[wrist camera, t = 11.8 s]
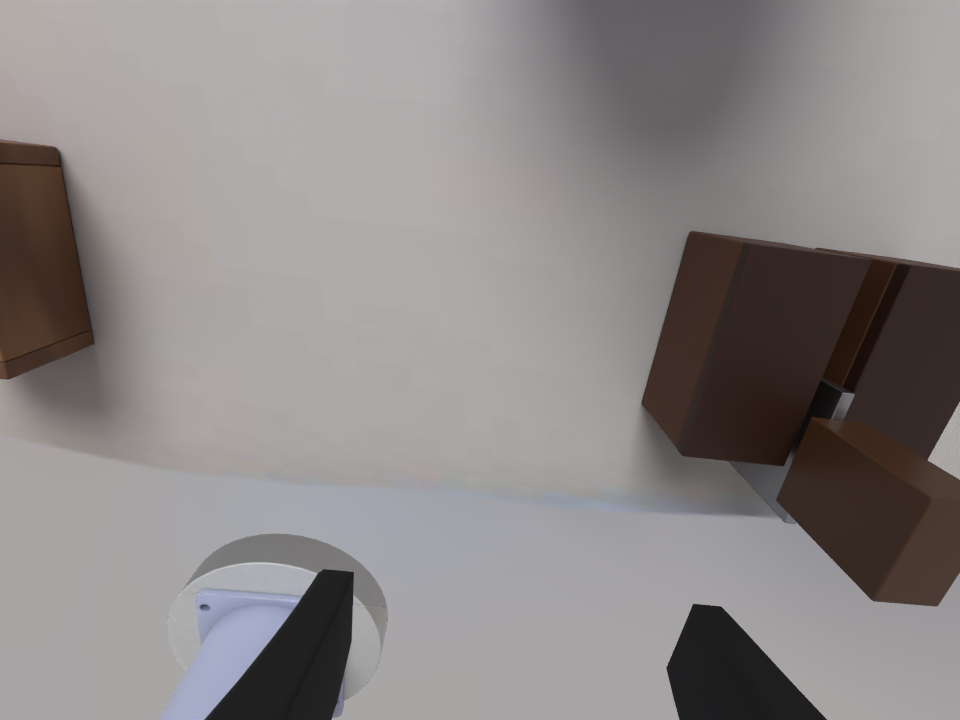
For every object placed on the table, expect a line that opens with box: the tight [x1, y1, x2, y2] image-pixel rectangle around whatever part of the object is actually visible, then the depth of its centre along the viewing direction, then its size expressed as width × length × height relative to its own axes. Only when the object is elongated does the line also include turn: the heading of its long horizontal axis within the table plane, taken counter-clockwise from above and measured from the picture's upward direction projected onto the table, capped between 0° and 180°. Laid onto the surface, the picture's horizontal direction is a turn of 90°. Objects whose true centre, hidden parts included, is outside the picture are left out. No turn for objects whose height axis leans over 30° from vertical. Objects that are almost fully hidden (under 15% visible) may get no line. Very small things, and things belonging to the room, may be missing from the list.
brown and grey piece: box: [728, 376, 960, 606], centre depth 15 cm, size 5×2×8 cm, turn 173°
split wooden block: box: [642, 231, 960, 466], centre depth 16 cm, size 7×8×4 cm
